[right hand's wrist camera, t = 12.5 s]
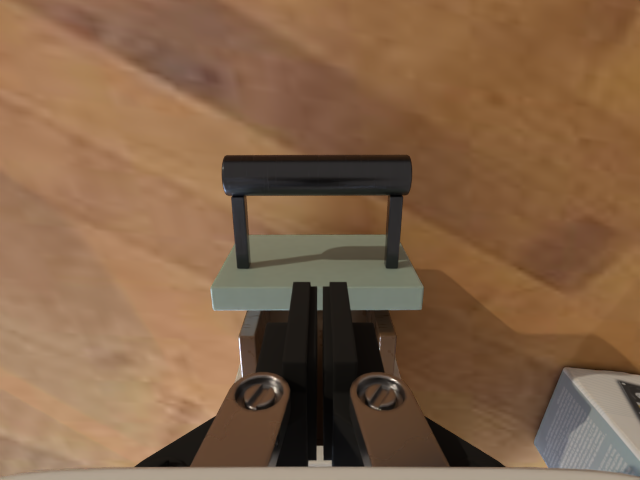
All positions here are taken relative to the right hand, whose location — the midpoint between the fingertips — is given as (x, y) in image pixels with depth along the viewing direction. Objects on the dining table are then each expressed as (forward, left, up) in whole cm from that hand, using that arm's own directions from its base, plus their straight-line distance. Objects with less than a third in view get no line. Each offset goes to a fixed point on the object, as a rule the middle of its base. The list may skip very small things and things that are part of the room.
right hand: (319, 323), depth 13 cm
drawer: (-5, -4, -12) cm, 13 cm away
